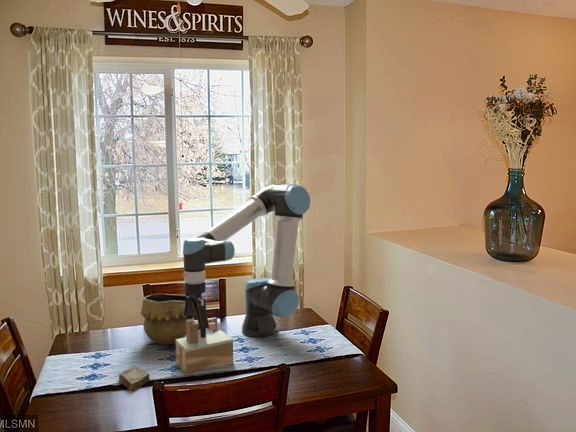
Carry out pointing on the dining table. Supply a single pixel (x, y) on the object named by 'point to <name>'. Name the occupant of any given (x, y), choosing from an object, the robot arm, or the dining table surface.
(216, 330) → the staple
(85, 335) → the dining table surface
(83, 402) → the dining table surface
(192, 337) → the lid
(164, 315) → the clay pot
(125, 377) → the stone
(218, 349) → the toolbox
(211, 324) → the key bar
